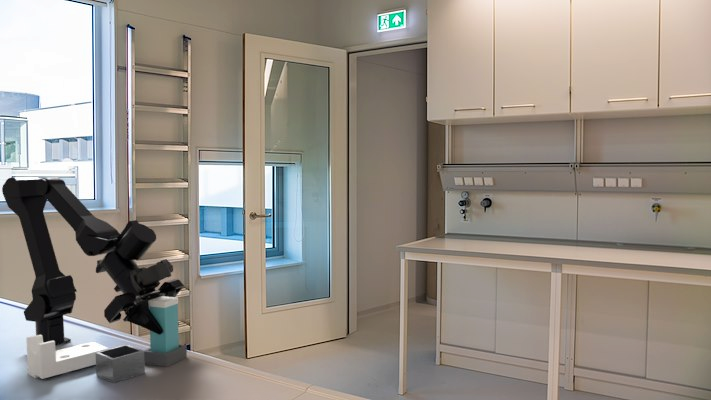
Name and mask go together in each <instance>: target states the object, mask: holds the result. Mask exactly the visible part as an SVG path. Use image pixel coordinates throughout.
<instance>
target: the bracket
mask: <svg viewBox="0 0 711 400" xmlns="http://www.w3.org/2000/svg"><path fill="white" fill-rule="evenodd" d="M25 339H26V356H27V360H26V361H27V374H28V375H29V376H31V377H32V378H34V379H35V378H40V379H41V380H43V379H47V378H50V377H55V376H58V375H61V374H65V373H69V372H72V371H77V370H80V369H84V368H88V367H91V366H96V352H100V351H104V350H107V349H110V348H109V347H107V346H104V345H102V344H101V343H97V342H95V341H91V342H86V343H81V344H77V345H74V346H68V347H64V348H62V349H57V350H56V345H55V341H48V342H43V336H42V335H36V334H35V335H32V336H27V337H26V338H25Z"/></svg>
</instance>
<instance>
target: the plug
mask: <svg viewBox="0 0 711 400" xmlns="http://www.w3.org/2000/svg"><path fill="white" fill-rule="evenodd" d="M148 303H149V310H150V311H151V313H152V314H153V316H154V317H155V318H156V320H157V321H158V323H159V324H160V326H161V328H162V329H163V333H162V334H160V335H159V334H157V333H154V332H152V331H150V330H149V337H150V338H149V342H150V345H149V346H150V347H149V348H151V351H153V352H160V353H168V352H170V351H173V350H175V349H177V348H179V345H180V341H179V338H180V337H179V326H178V323H179V312H178V311H179V305H178V304H179V297H177V296H176V297H166V296H161V297H158V298H155V299H152V300H149V301H148Z"/></svg>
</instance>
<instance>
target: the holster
mask: <svg viewBox="0 0 711 400" xmlns="http://www.w3.org/2000/svg"><path fill="white" fill-rule="evenodd" d="M187 347H188V346H187V345H186V344H179V348H177V349H175V350H173V351H170V352H168V353H160V352H153V351H151V347H149V348H147V349H144V362H145V365H146V364H147V365H154V366H160V367H165V368H167V367H169V366H171V365H173V364H175V363H177V362H179V361H181V360H183V359H185V358H187V357H188V355H187V354H188V353H187Z"/></svg>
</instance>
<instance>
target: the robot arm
mask: <svg viewBox="0 0 711 400" xmlns="http://www.w3.org/2000/svg"><path fill="white" fill-rule="evenodd" d="M1 187H2V188H1V192H2V195H3V198H4V200H5V202H6V205H7V207H8V208H9V209H10V210H11V211H12V212H13V213H14V214H16V216H18V218H19V222H20V225H21V229H22V232H23V236H24V239H25V242H26V243H25V244H26V247H27V251H28V253H29V258H30V261H31V264H32V268H33V271H34V276H35V279H34V282H33V285H32V286H31V287H32V288H31V296H32V300H31V302H30V303H29V304H28V305H27V306H26V307H25V309H24V310H23V314H24V318H25V321H27V322H35V324H34V325H35V336H36V335H42V336H43V342H48V341H55V346H58V345H59V346H60V345H61V344H66V343H70V342H71V341H72V339H71V338H68V337H66V336H65V326H64V325H65V324H64V316H65V315H69V314H72V313H73V308H74V305H75V301H76V299H77V295H76V293H77V292H78V291H77V289H76V287H75V284H74V279H73V276H72V275H70V274H68V275H65V274H64V273H63V272H62V271H61V269H60V266H59V263H58V260H57V256H56V253H55V249H54V246H53V242H52V238H51V234H50V231H49V227H48V223H47V222H46V221H47V220H46V217H45V212H44V210H45V207H46V204H47V201H48V202H49V204H50V205H51V206H52V207H53V208H54V209H55V211H56V212H57V213H59V215H60V216H61V217H62V218H63V219H64V220H65V222H67V223H68V225H69V226H70V227H71V228H72V230H73V231H74V232H75V241H76V243H77V244H78V245H79V247H80V249H81V250H82V252H83V254H85V255H86V256H88V257H95V256H96V257H97V256H102V255H104V257H103V258H102V259H98V260H97V261H96V262H97V263H96V267H95V273H96V274H100V273H105V272H106V273H107V275H108V276H109V277H110V278H111V280H112V281H113V283H114V284H115V287H114V288H113V290H114V292H116V293H119V292H121V293H122V294H119V295H115V296H114V298H113V299H112V300H111V301H110V302H109V304H108V305H107V306H106V307H105V309H104V312H103V314H104V318H105V319H106V321H107V322H108V324H112V323H116V322H118V321H121V319H122V313H121V312H124V314H125V317H124V318H123V319H122V320H123V322H129V323H131V324H134V325H136V326H139V327H142V328H144V329H146V330H147V331H148V330H149V332H150V331H152V332H154V333H157V334H159V335H160V334H162V333H163V329H162V328H161V326H160V324H159V323H158V321H157V320H156V318H155V317H154V316H153V314H152V313H151V311H150V310H149V303H148V301H149V300H152V299H155V298H158V297H161V296H166V297H176V298H177V296H178V295H179V293H180V292H181V291H182V290H183V289H184V287H185V285H184V284H183V282H182V281H181V279H179V278H173V279H170V280H166V281H164V282H163V283H162V284H161V282H160V281H162V280H164V279H166V278H170V277H172V273H174V265H173V264H172V263H171V262H170V261H169V260H168V259H167V258H166V259H161V260H160V261H158V262H156V263H155V264H153V265H150V266H148V267H144V266H143V267H139V265H138V264H137V263H136V262H135V261H139V260H141V259H142V257H144V255H145V254H146V253H147V251H148V250H149V249H150V248H151V247H152V246H153V244H154V243H155V241H157V234H156V232H155V231H154V230H153V229H152V228H150V227H148V226H147V225H146V224H143V223H139V221H138V220H137V219H133V220H129V221H128V222H127V223H126V225H125V227H124V228H123V229H122V231H121V232H119V231H118V230H117V229H116V228H115V227H114V226H112V225H111V224H110V223H108V222H107V221H106V220H102V219H99V218H98V217H97V216H95V215H94V214H92V213H91V212H90V210H89V209H88V208H87V207H86V206H85V205H84V204H83V203H82V202H81V201H80V199H79V198H78V197H77V195H75V194H74V193H73V192H72V190H70V189H69V188H68V186H67V185H66V182H65V181H64V179H63V178H60V177H58V176H57V177H41V178H39V177H38V176H19V177H18V176H17V177H16V176H14V177H9V178H7V179H6V180H5V182H4V183H3V185H2V186H1ZM160 284H161V285H160ZM157 287H159V288H158V289H157V290H156V288H157ZM179 323H180V322H178V327H179V326H180V324H179Z"/></svg>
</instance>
